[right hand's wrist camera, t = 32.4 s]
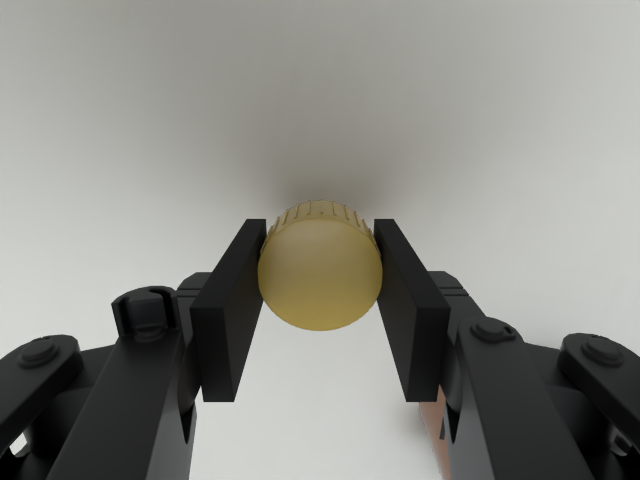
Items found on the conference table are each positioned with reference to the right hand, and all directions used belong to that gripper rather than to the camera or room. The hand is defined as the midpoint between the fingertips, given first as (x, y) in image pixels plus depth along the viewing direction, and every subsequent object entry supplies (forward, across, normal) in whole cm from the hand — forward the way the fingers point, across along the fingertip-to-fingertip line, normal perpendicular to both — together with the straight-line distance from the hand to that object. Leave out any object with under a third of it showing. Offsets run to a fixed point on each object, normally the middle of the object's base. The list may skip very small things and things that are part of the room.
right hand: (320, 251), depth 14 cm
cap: (-2, 0, 0) cm, 2 cm away
